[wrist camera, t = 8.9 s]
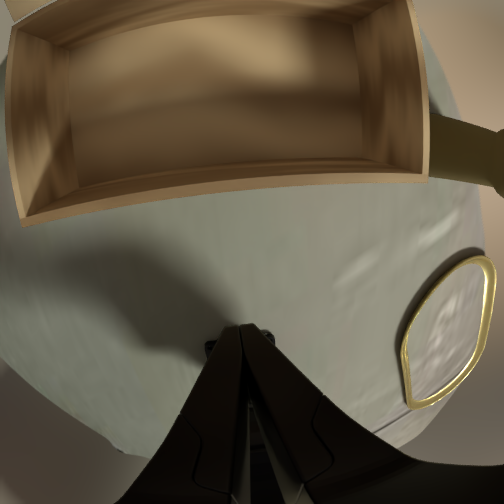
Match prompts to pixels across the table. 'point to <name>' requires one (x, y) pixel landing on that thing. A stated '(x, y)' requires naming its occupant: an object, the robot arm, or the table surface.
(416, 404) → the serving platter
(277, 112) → the kraft carton
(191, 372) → the table surface
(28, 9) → the carton flap
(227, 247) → the table surface
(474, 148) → the cork
